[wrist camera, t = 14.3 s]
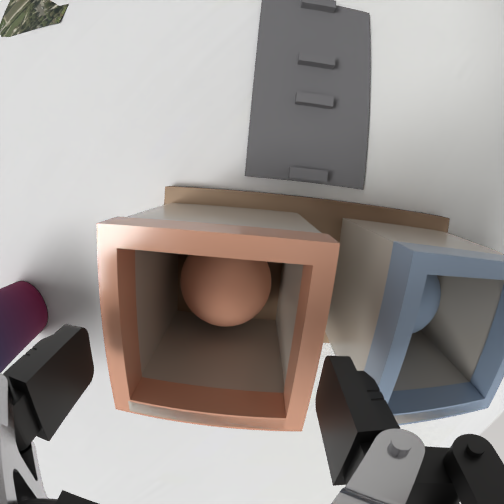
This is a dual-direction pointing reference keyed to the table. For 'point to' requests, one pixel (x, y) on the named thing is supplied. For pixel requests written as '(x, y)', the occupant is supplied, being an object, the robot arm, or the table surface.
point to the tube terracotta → (207, 335)
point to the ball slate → (428, 302)
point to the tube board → (311, 209)
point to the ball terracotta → (225, 288)
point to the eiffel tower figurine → (29, 16)
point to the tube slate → (405, 313)
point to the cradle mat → (310, 94)
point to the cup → (19, 319)
